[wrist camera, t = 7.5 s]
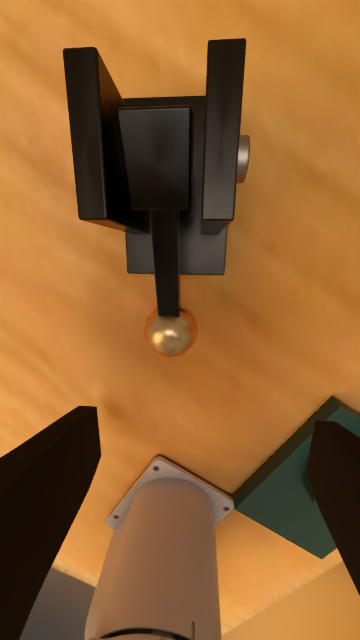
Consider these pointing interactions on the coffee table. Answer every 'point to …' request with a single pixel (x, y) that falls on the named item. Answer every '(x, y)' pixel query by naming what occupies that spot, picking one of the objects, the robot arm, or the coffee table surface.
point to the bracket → (208, 158)
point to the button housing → (294, 486)
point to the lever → (162, 209)
